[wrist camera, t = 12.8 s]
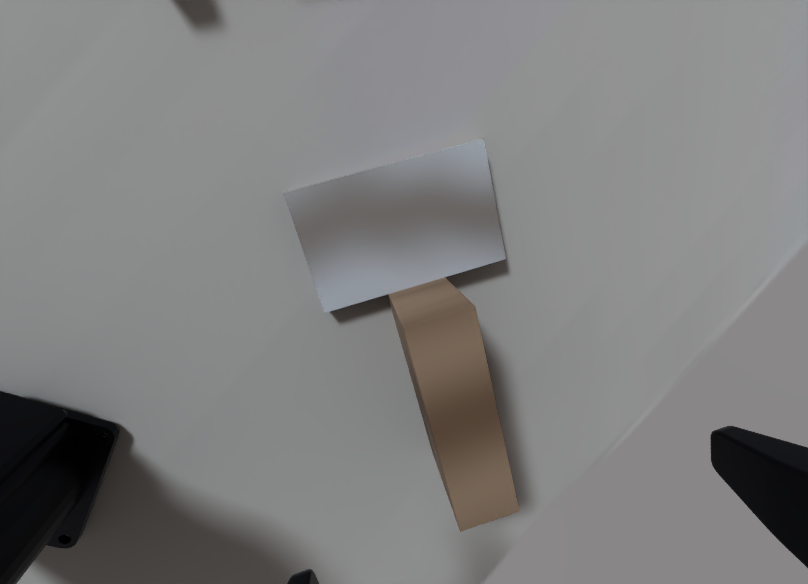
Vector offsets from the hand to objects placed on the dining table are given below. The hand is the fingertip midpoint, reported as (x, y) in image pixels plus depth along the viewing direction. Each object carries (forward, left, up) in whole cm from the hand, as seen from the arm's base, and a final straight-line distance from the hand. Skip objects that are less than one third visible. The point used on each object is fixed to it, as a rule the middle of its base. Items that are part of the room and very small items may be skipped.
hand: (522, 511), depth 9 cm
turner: (0, 0, -11) cm, 11 cm away
